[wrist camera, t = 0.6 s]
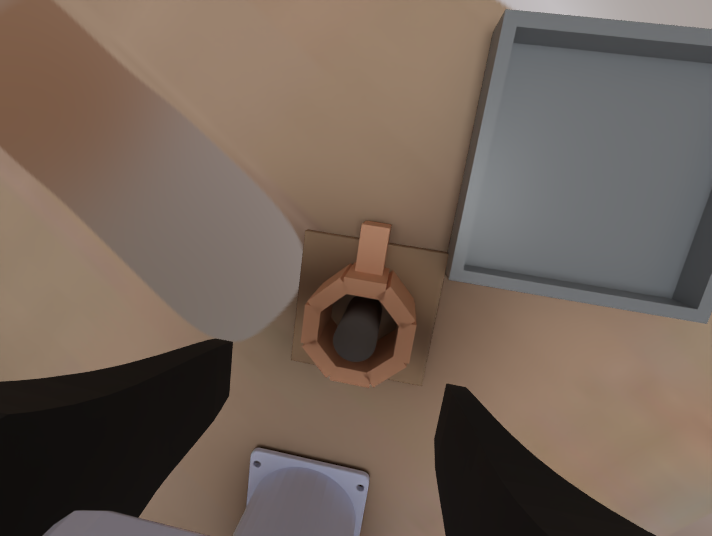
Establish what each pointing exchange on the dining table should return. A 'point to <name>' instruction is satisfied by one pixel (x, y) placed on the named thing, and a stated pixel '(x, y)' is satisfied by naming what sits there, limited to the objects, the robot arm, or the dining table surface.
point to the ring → (370, 283)
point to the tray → (591, 166)
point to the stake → (365, 315)
